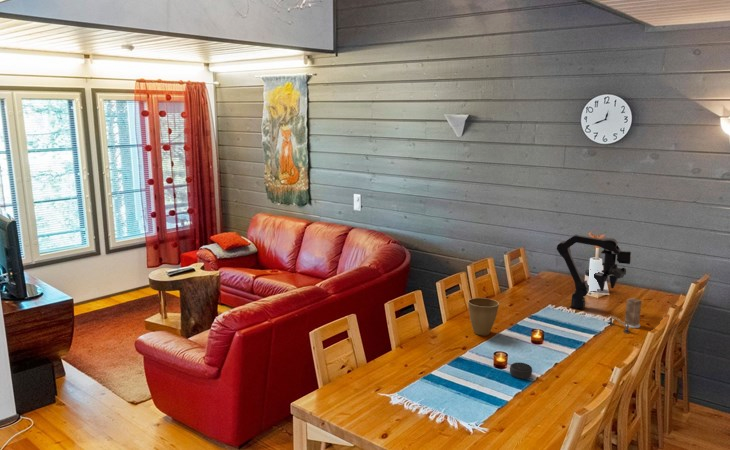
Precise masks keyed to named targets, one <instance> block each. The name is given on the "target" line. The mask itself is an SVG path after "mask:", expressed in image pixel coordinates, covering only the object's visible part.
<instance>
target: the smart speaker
mask: <svg viewBox="0 0 730 450" xmlns="http://www.w3.org/2000/svg"><path fill="white" fill-rule="evenodd" d="M509 374H510V375H511V376H512V377H514V378H517V379H520V380H521V379H522V380H525V379H529V378H531V377H532V375H533V367H532V366H531V365H529V364H528V363H525V362H514V363H511V364H510V366H509Z"/></svg>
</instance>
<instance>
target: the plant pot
mask: <svg viewBox="0 0 730 450" xmlns="http://www.w3.org/2000/svg"><path fill="white" fill-rule="evenodd" d="M467 304H468V313H469V314H468V315H469V319H470V323H471V327H472V330H473V333H474V334H475V335H478V336H489V335H490V333H491V330H492V328H493V326H494V324H495V321H496V319H497V313H498V309H499V306H500V303H499V301H497V300H495V299H491V298H488V297H487V298H485V297H475V298H474V297H473V298H470V299H468V300H467Z"/></svg>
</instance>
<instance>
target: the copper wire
mask: <svg viewBox="0 0 730 450" xmlns="http://www.w3.org/2000/svg"><path fill="white" fill-rule="evenodd" d="M613 320H616V321H617V323H618V324H621V325H623V326H624V325H626V326H625V329H624V330H623V331H622V332H623V333H625V334H630V333H631V331H630V330H629V324H628V323H625V321H622V320H621V319H620V318H619V317H617V316H615V315H609V321H608V322H606V324H607V323H608V324H607V325H609V324H610V325H609V326H614V325H615V323H614V322H613Z"/></svg>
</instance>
